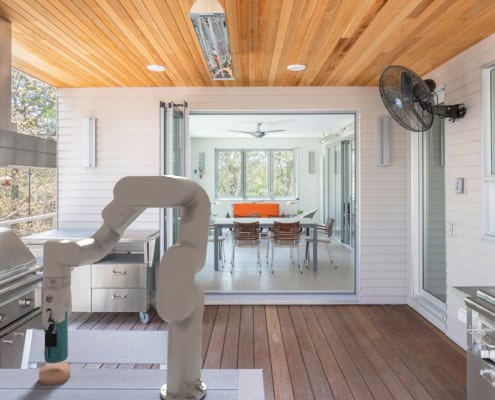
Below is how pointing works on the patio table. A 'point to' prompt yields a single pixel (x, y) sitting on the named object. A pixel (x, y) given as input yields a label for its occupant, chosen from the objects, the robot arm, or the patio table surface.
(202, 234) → the robot arm
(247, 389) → the patio table surface
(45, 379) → the tan rounded flat piece
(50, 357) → the beverage bottle
